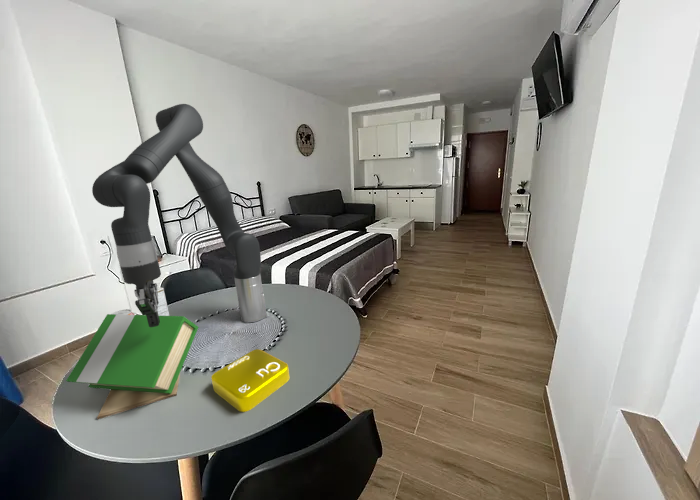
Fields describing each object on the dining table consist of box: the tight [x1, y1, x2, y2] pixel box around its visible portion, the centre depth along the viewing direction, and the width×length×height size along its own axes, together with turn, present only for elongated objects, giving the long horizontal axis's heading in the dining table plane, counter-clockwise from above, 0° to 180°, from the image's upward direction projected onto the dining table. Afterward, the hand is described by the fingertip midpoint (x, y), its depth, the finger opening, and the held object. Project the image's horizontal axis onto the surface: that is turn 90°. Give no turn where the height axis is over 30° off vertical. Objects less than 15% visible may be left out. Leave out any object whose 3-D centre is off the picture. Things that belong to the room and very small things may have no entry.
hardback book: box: [65, 313, 199, 394], centre depth 78 cm, size 18×7×24 cm
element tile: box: [210, 348, 291, 413], centre depth 76 cm, size 15×15×5 cm
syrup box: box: [157, 286, 170, 316], centre depth 108 cm, size 6×6×14 cm
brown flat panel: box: [96, 373, 181, 420], centre depth 77 cm, size 16×14×1 cm
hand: (154, 325), depth 74 cm, fingers closed
